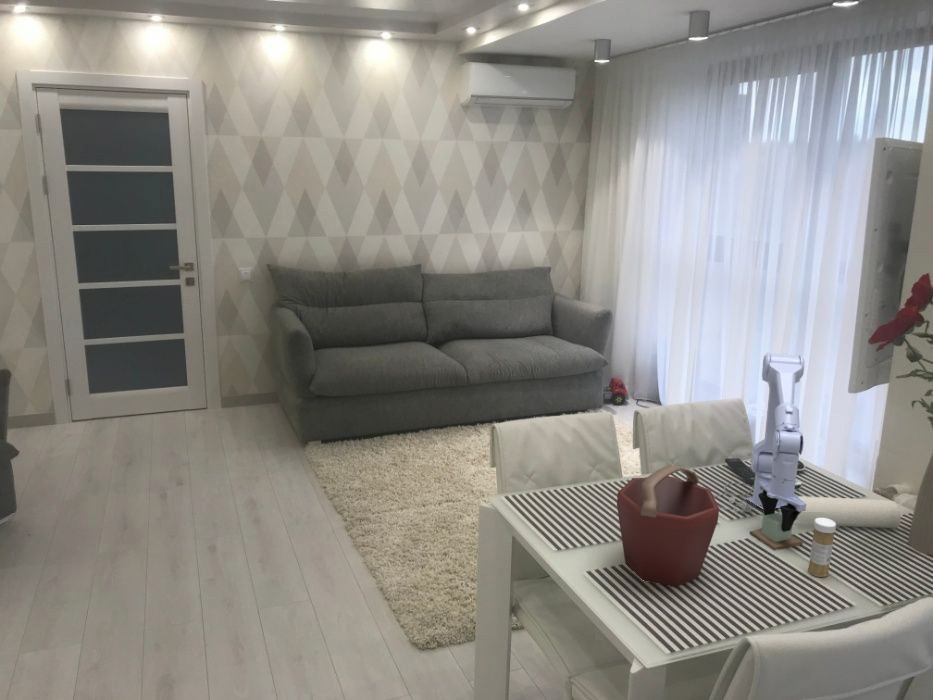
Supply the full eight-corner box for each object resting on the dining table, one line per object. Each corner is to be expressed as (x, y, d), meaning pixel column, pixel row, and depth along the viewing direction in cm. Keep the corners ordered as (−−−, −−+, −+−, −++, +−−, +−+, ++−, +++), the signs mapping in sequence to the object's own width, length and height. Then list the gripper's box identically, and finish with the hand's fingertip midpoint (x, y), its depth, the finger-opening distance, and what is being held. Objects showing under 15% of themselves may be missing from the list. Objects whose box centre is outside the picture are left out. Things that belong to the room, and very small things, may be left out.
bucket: (657, 604, 163) (666, 499, 157) (589, 559, 181) (595, 463, 175) (731, 573, 175) (742, 475, 169) (661, 534, 193) (669, 444, 187)
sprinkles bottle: (816, 566, 179) (823, 515, 176) (832, 575, 175) (840, 523, 172) (803, 570, 177) (810, 519, 174) (819, 580, 173) (827, 527, 170)
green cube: (776, 530, 195) (778, 512, 194) (790, 538, 190) (792, 520, 189) (761, 533, 193) (763, 515, 192) (775, 542, 189) (777, 524, 187)
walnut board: (776, 528, 198) (777, 525, 197) (802, 544, 189) (802, 541, 189) (749, 533, 194) (749, 531, 194) (774, 550, 186) (774, 547, 186)
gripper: (750, 467, 193) (745, 515, 196) (792, 489, 180) (786, 540, 183) (772, 463, 195) (766, 511, 199) (815, 486, 182) (808, 536, 185)
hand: (777, 525), depth 191 cm, fingers open, 5 cm apart
